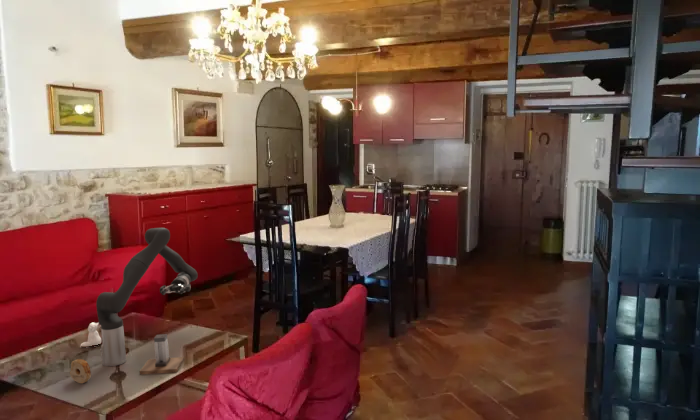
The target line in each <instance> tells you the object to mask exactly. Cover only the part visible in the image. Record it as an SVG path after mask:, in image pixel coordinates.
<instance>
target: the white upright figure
mask: <svg viewBox="0 0 700 420" xmlns="http://www.w3.org/2000/svg"><path fill="white" fill-rule="evenodd" d="M98 326H100V323H99V322H95V321H94V322H91V323H89V325H88V327H87V331H88V333H87V334H88V335H87V341H84V342H82V343H80V347H81V346H92V345H98V344H101V343H103V342H102V337H101V336H100V334H99V332H98V330H97V329H98ZM98 346H99V345H98Z"/></svg>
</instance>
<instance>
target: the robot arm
mask: <svg viewBox="0 0 700 420" xmlns="http://www.w3.org/2000/svg"><path fill="white" fill-rule="evenodd" d="M144 240H145V243H147V244H148V245H147V246H146V247H144V248H143V249H142V250H140V251H139V252H137V253H136V254H135V255H133V256H132V257H131V259H129V261H128V262H127V264H126V265H125V267H124V268H123V272H122V273H123V275H122V277H123V278H122V283H121V285H120V286H119V288H118V289H117V290H116V291H115V292H110V291H108V292H107V291H103V292H101V293H100V294H99V295H98V297H97V298H96V302H95V303H96V315H97V319H98V320H97V321H98V323H99V326H100V329H101V330H100V331H101V339H102V340H101V341H102V342H101V343H102V344H101V346H100V348H101V359H102V366H107V367H115V366H120V365H122V364H124V363H125V362H127V354H126V344H125V342H126V341H125V332H124V321H123V318H121V316H119V315H117V314H118V313H120V312H122V310H123V309H124V308H125V306H126V304H127V302H128V301H129V299H130V297H131V295H132V294H133V292H134V290H135V288H136V287H137V285H138V284H139V282H140V281H141V279H142V277H144V275H145V274H146V272H147V270H148V269H149V267H150V266H151V265H152V263H153V262H154V261H155V259H156V258H157V256H158V255H160V256H161V257H162V258H163V259H164V260H165V261H166V262H167V263H168V265H170V267H171V268H172V269H173V271H174V272H175V273H178V274H177V276H176V278H174V279H173V280H172V282H171V283H170V285H167V286H166V285H162V286H160V288H159V293H160V294H161V295H162V296H165V295H166V294H171V293H175V294H180V295H182V294H183V293H188V292H191V288H192V287H191V283H192V282H195V280H197V279H198V275H199V274H198V272H197V270H196V269H195V268H193V267H192V266H191V265H189V264H188V263H186V261H185V260H184V259H183V257H182V256H181V255H180V254H179V253H178V252H176V251H175V250H173V249H172V248H170V247H169V246H168V245H167V244H168V243H169V241H170V240H171V232H170V230H169V229H168V228H165V227H154V228H153V227H152V228H148V229H147V230H146V231H145V234H144Z"/></svg>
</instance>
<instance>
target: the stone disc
mask: <svg viewBox="0 0 700 420" xmlns="http://www.w3.org/2000/svg"><path fill="white" fill-rule="evenodd" d="M69 375H70V377H71V378H72V380H73V381H74V382H76V383H78V384H85V383H86V382H88V381H89V380H90V379H91V377H92V371H91V367H90V364H89V362H88V361H86V360H85V359H82V358H77V359H75V360H73V361H71V363H70V371H69Z"/></svg>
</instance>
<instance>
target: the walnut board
mask: <svg viewBox="0 0 700 420" xmlns="http://www.w3.org/2000/svg"><path fill="white" fill-rule="evenodd" d="M184 362H185V357H184V356H180V357H178V356H177V357H170V361H169V362H168V364H167V365H166V366H163V367H155V363H156V358H149V359H147V361H146V362H145V363H144V365H143V366H142V368H140V370H139V375H141V376H142V375H151V374H152V375H153V374H169V373H170V374H171V373H177V372H179V369H180V368H181V366H182V365H183V363H184Z"/></svg>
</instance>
